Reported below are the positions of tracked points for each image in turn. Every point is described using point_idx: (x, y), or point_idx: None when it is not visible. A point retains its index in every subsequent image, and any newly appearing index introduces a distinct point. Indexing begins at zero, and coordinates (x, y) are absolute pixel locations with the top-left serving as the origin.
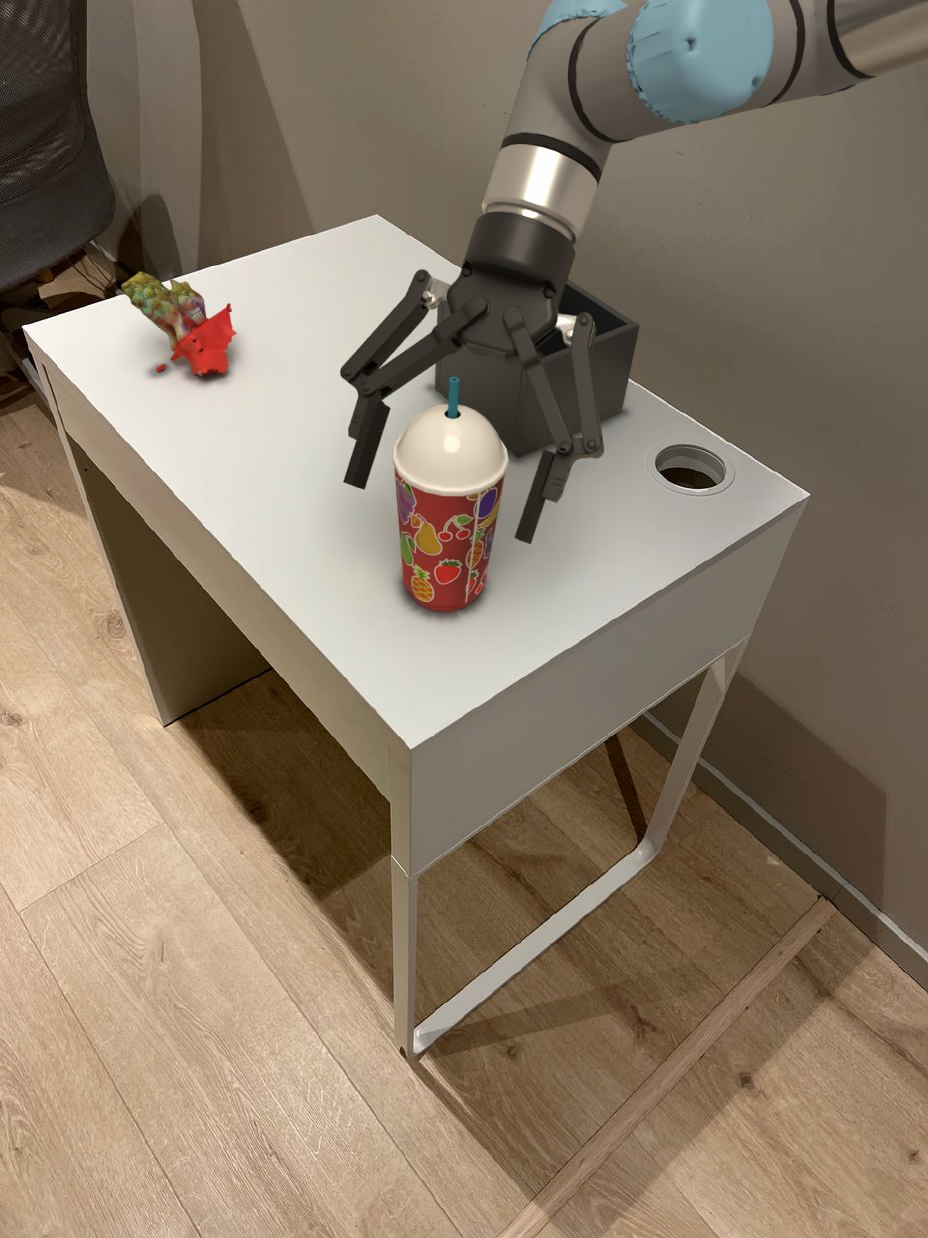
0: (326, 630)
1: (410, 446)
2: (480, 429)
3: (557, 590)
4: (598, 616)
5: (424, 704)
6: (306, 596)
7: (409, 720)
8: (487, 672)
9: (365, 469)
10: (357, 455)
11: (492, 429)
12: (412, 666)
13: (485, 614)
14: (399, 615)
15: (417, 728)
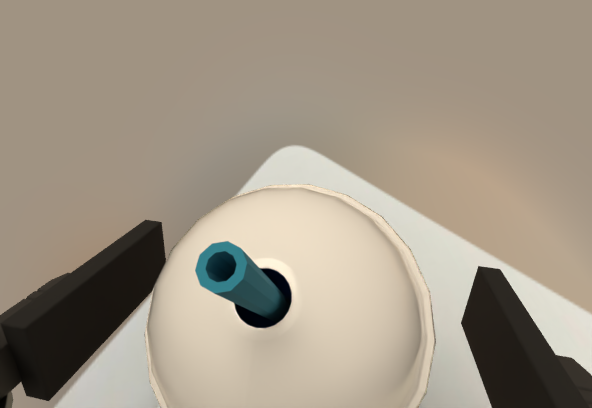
0: (416, 227)
1: (369, 223)
2: (175, 289)
3: None
4: (123, 339)
5: (288, 172)
6: (463, 268)
7: (297, 153)
8: None
9: (479, 327)
10: (508, 304)
11: (154, 346)
12: None
13: None
14: None
15: (287, 148)
